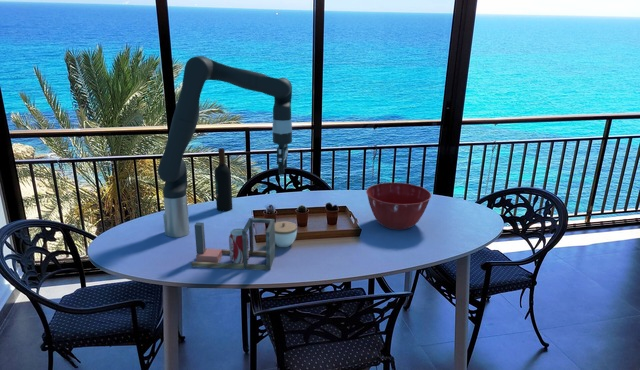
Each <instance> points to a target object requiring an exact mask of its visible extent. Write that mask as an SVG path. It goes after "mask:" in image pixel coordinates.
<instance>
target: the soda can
mask: <svg viewBox="0 0 640 370" xmlns="http://www.w3.org/2000/svg"><path fill="white" fill-rule="evenodd" d="M243 229H244V228H234V229H232V230H230V234H229V237H228V245H229V247H228V250H230V254H229V259H230V263H236V264H244V261H243V237H242V231H243ZM246 234H247V259H248V260H249V258H250V255H249V250H250V242H249V233H248V232H247V233H246Z"/></svg>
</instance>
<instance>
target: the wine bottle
mask: <svg viewBox="0 0 640 370" xmlns="http://www.w3.org/2000/svg"><path fill="white" fill-rule="evenodd" d="M217 151H218V163H219V164H218V166H217V167H215V169H214V184H215V185H214V186H215V187H214V188H215V200H216V211H218V212H229V211H232V210H233V193H232V189H233V188H232V173H231V172H232V171H231V169H230V167H229V166H227V165H226V155H225V148H224V147H221V148H218V150H217Z"/></svg>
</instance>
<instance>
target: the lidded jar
mask: <svg viewBox="0 0 640 370" xmlns="http://www.w3.org/2000/svg"><path fill="white" fill-rule="evenodd" d="M297 229H298V227H297V224H296V223H294V222H291V221H277V222H275V246H277V247H278V248H279V247H280V248H287V247H291V245H292V244H293V243H294V242H295V240H296V239H297V232H298V230H297Z"/></svg>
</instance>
